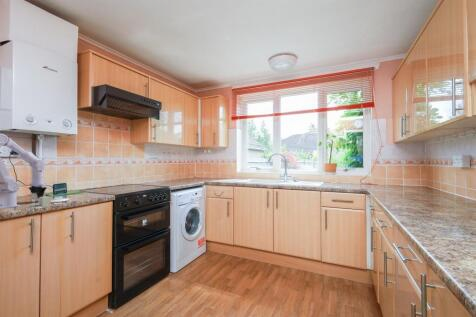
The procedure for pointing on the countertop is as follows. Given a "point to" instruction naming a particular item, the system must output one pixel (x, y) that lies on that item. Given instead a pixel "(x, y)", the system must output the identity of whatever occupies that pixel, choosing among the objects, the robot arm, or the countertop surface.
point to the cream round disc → (58, 200)
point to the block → (43, 201)
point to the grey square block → (36, 196)
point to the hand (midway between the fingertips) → (37, 197)
